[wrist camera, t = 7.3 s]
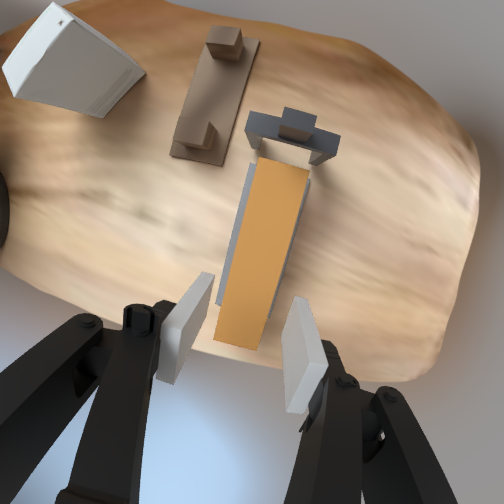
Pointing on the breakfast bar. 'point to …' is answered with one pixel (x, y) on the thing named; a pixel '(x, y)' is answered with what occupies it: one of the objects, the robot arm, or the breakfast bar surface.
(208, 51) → the rest
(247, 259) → the orange tapered block
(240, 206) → the clip mount
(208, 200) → the breakfast bar surface
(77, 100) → the skincare box
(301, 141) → the grey gate frame
